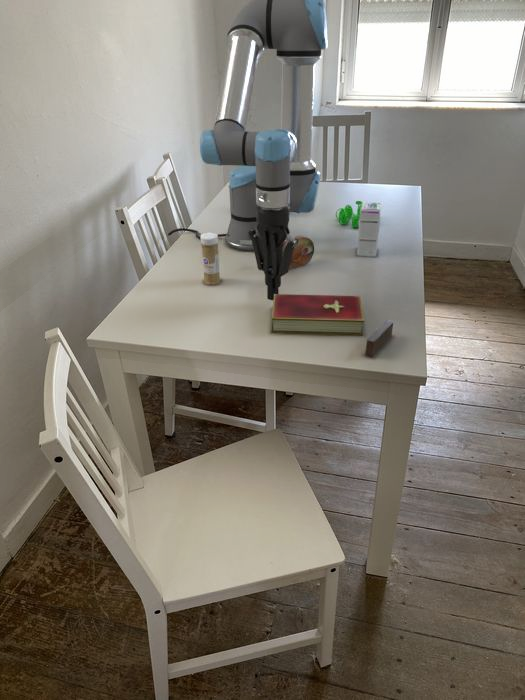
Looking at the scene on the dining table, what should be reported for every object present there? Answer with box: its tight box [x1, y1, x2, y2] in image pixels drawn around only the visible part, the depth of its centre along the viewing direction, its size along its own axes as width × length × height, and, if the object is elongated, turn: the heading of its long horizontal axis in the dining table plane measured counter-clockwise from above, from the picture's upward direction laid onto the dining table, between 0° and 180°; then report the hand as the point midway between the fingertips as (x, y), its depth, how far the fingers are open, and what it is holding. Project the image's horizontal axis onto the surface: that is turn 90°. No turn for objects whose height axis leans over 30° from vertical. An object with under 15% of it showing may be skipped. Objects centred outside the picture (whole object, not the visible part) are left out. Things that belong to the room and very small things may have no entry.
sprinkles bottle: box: [200, 232, 221, 286], centre depth 141 cm, size 5×5×14 cm
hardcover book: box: [270, 293, 365, 336], centre depth 126 cm, size 12×21×4 cm, turn 86°
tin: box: [282, 235, 315, 270], centre depth 150 cm, size 15×3×8 cm, turn 117°
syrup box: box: [356, 201, 382, 258], centre depth 155 cm, size 6×6×14 cm
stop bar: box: [364, 319, 394, 358], centre depth 117 cm, size 2×10×4 cm, turn 144°
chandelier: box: [335, 200, 363, 229], centre depth 178 cm, size 15×15×7 cm
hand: (272, 297), depth 132 cm, fingers closed
